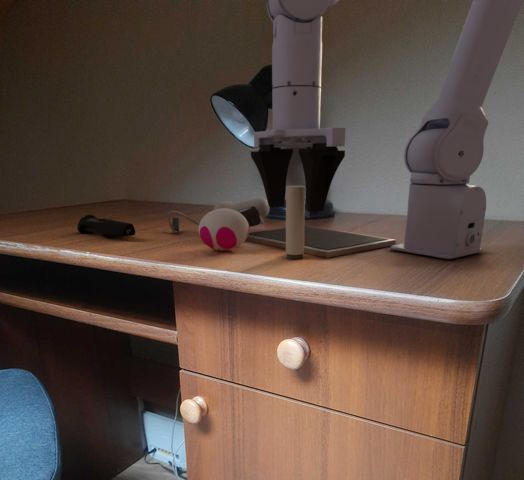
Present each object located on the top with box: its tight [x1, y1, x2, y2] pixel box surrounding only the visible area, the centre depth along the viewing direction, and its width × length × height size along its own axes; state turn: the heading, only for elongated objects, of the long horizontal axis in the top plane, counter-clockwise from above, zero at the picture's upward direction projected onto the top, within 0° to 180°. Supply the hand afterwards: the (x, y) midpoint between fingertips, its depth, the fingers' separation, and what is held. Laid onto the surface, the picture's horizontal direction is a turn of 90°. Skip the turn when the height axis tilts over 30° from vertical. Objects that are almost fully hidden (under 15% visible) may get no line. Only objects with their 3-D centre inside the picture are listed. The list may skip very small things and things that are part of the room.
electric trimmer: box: [76, 214, 136, 238], centre depth 83 cm, size 4×16×3 cm, turn 45°
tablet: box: [245, 225, 397, 259], centre depth 76 cm, size 20×14×1 cm
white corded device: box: [167, 196, 271, 234], centre depth 84 cm, size 12×6×18 cm
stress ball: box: [197, 208, 250, 254], centre depth 70 cm, size 8×8×7 cm
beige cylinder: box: [285, 185, 306, 260], centre depth 64 cm, size 2×2×9 cm
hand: (294, 208), depth 63 cm, fingers open, 7 cm apart
